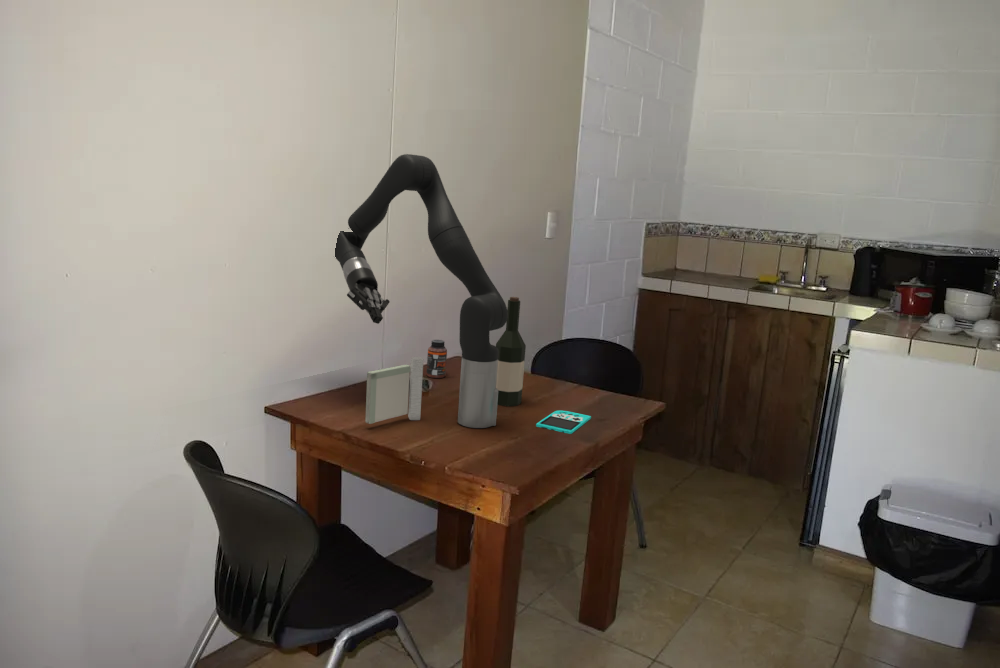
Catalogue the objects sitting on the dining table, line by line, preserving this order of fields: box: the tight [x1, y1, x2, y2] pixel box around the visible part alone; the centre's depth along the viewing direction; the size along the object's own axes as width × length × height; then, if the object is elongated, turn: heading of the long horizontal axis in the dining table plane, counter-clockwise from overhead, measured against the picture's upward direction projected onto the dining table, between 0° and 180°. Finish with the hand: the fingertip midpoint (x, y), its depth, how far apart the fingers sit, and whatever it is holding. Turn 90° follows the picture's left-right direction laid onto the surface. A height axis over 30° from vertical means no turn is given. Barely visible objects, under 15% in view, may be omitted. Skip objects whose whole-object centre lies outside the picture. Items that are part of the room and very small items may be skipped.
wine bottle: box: [495, 296, 526, 407], centre depth 217 cm, size 8×8×30 cm
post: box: [407, 356, 424, 421], centre depth 198 cm, size 3×3×16 cm
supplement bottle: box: [426, 339, 448, 379], centre depth 240 cm, size 6×6×11 cm
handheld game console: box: [535, 409, 592, 435], centre depth 205 cm, size 10×16×1 cm, turn 155°
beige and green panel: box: [364, 364, 411, 425], centre depth 192 cm, size 13×2×13 cm, turn 140°
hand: (378, 320), depth 198 cm, fingers closed
